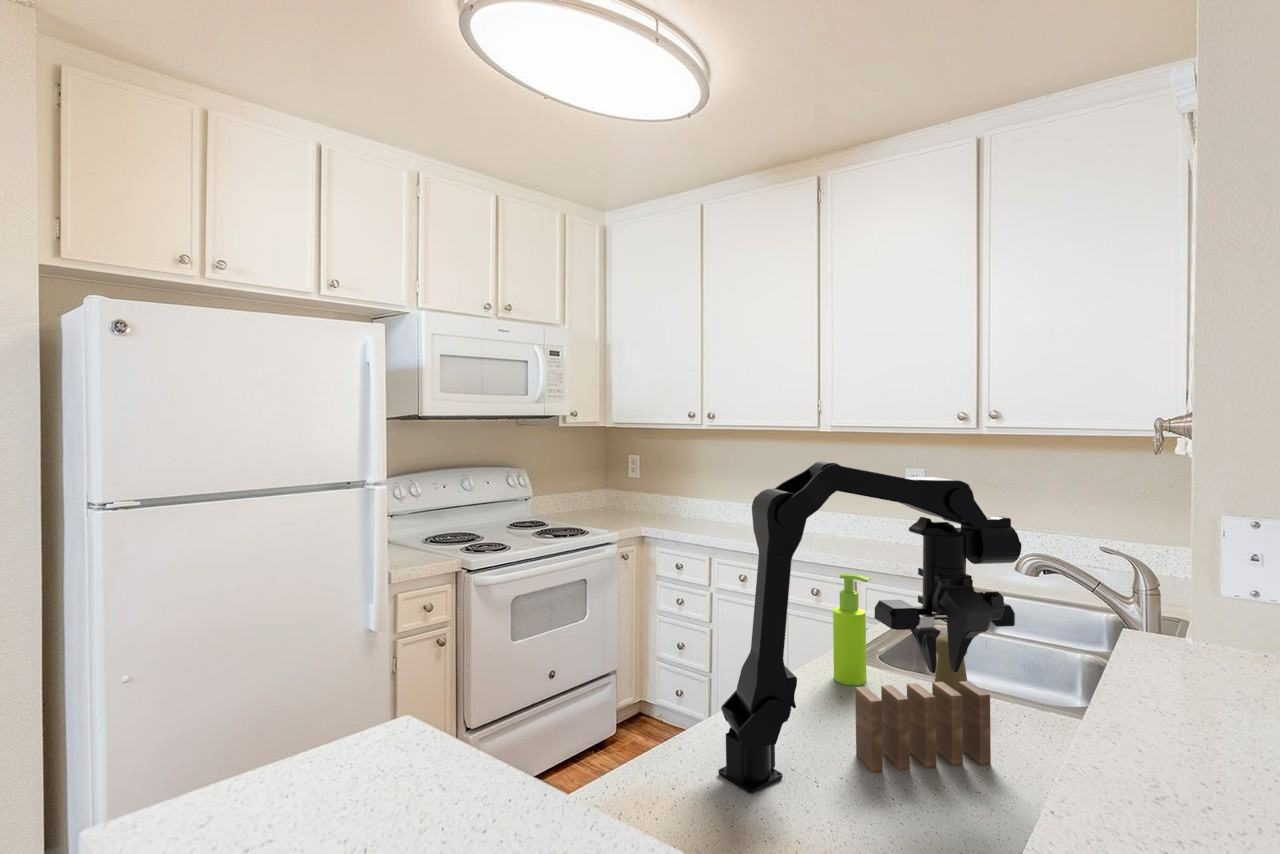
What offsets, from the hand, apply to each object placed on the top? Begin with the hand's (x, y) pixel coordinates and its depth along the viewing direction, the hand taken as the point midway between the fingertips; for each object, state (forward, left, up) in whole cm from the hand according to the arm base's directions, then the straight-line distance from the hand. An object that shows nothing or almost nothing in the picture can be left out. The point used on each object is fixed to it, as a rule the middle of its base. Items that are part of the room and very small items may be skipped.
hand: (943, 671), depth 97 cm
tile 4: (0, 0, -13) cm, 13 cm away
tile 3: (-3, +2, -13) cm, 13 cm away
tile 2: (-6, +4, -13) cm, 15 cm away
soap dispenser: (+14, +26, -13) cm, 32 cm away
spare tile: (+4, -3, -13) cm, 13 cm away
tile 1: (-10, +6, -13) cm, 17 cm away
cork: (+20, +10, -13) cm, 26 cm away
